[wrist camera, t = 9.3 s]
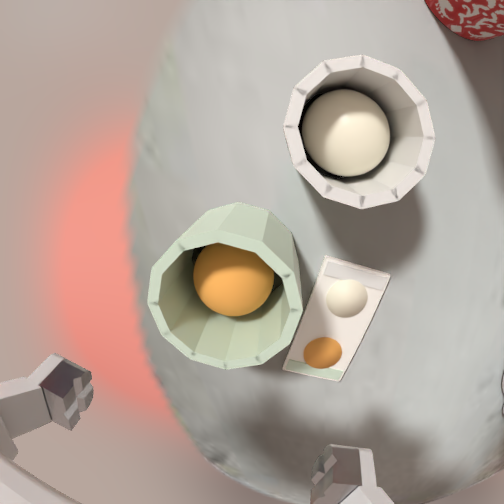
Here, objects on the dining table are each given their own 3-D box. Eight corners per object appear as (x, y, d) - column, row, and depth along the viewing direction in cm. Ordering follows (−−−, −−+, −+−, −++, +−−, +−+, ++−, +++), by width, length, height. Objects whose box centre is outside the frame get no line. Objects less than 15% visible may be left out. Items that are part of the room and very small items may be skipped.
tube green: (311, 222, 21) (322, 258, 15) (278, 321, 24) (274, 381, 17) (196, 191, 21) (160, 213, 15) (177, 292, 24) (143, 343, 18)
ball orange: (285, 238, 22) (282, 265, 17) (265, 302, 23) (257, 341, 19) (212, 217, 22) (190, 239, 17) (198, 282, 24) (176, 317, 19)
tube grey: (400, 103, 18) (446, 90, 12) (372, 199, 20) (408, 225, 14) (300, 69, 18) (307, 37, 12) (273, 168, 20) (268, 181, 14)
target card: (389, 273, 22) (391, 276, 21) (338, 378, 25) (339, 382, 25) (324, 254, 22) (326, 257, 21) (282, 366, 25) (282, 370, 25)
